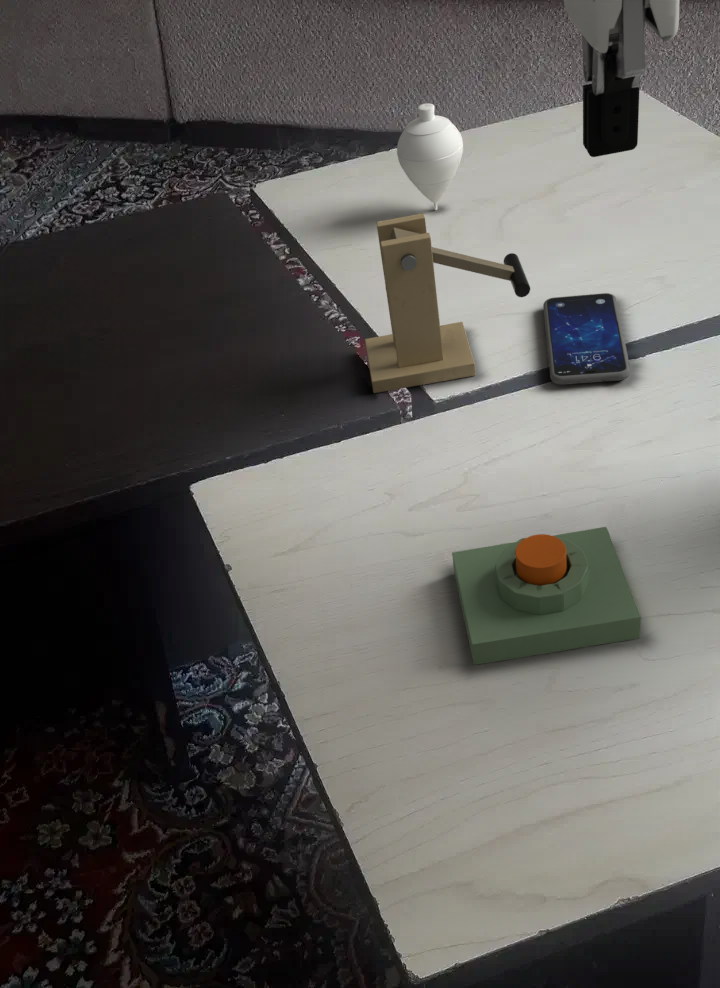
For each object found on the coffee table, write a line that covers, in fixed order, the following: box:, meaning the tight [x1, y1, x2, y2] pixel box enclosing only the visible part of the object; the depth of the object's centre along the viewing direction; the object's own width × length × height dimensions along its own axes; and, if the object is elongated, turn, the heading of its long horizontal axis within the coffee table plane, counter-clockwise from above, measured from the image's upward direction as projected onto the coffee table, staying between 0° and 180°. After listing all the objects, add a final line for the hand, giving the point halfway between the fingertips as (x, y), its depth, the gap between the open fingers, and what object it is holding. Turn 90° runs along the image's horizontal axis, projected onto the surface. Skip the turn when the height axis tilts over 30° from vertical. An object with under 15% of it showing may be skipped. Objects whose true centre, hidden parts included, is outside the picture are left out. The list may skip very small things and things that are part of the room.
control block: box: [451, 526, 642, 666], centre depth 78 cm, size 12×10×4 cm
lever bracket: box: [364, 212, 477, 394], centre depth 100 cm, size 10×8×14 cm
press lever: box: [390, 228, 531, 298], centre depth 98 cm, size 13×6×2 cm, turn 95°
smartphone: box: [542, 292, 631, 386], centre depth 103 cm, size 7×1×15 cm
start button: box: [515, 533, 567, 585], centre depth 77 cm, size 4×4×2 cm
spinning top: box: [396, 102, 464, 211], centre depth 124 cm, size 8×8×12 cm
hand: (609, 148), depth 70 cm, fingers closed
